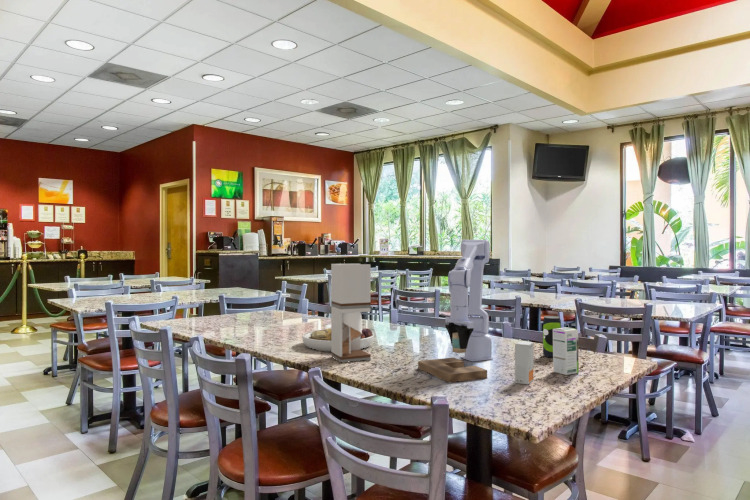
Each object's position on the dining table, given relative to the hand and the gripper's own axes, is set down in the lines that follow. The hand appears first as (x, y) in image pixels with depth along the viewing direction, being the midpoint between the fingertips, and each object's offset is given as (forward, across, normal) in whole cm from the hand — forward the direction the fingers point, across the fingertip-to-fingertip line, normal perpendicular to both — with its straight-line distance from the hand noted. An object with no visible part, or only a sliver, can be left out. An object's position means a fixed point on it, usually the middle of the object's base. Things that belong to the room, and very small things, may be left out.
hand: (459, 347), depth 169 cm
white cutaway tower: (+8, -33, -26) cm, 43 cm away
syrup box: (+8, +14, +32) cm, 36 cm away
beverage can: (+8, -7, +45) cm, 46 cm away
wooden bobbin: (+1, 0, 0) cm, 1 cm away
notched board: (+8, 0, -3) cm, 9 cm away
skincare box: (+8, +18, +12) cm, 23 cm away
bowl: (+9, -59, -22) cm, 64 cm away
